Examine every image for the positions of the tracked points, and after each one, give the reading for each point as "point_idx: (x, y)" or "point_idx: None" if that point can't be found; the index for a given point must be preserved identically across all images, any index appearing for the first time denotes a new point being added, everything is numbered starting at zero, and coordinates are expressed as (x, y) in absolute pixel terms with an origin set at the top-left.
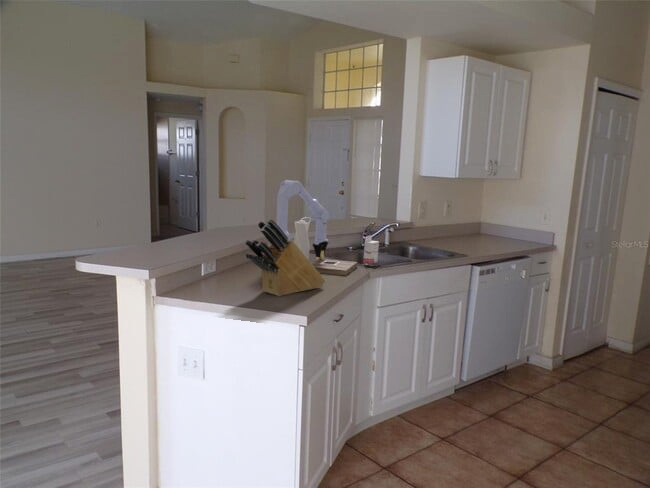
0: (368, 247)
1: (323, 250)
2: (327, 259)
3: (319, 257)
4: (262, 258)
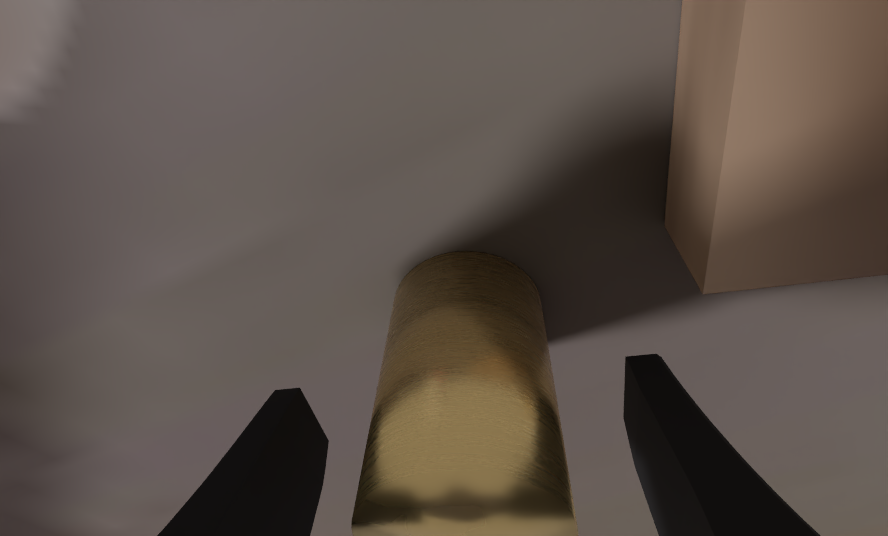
0: None
1: (388, 496)
2: (748, 97)
3: (551, 367)
4: None
